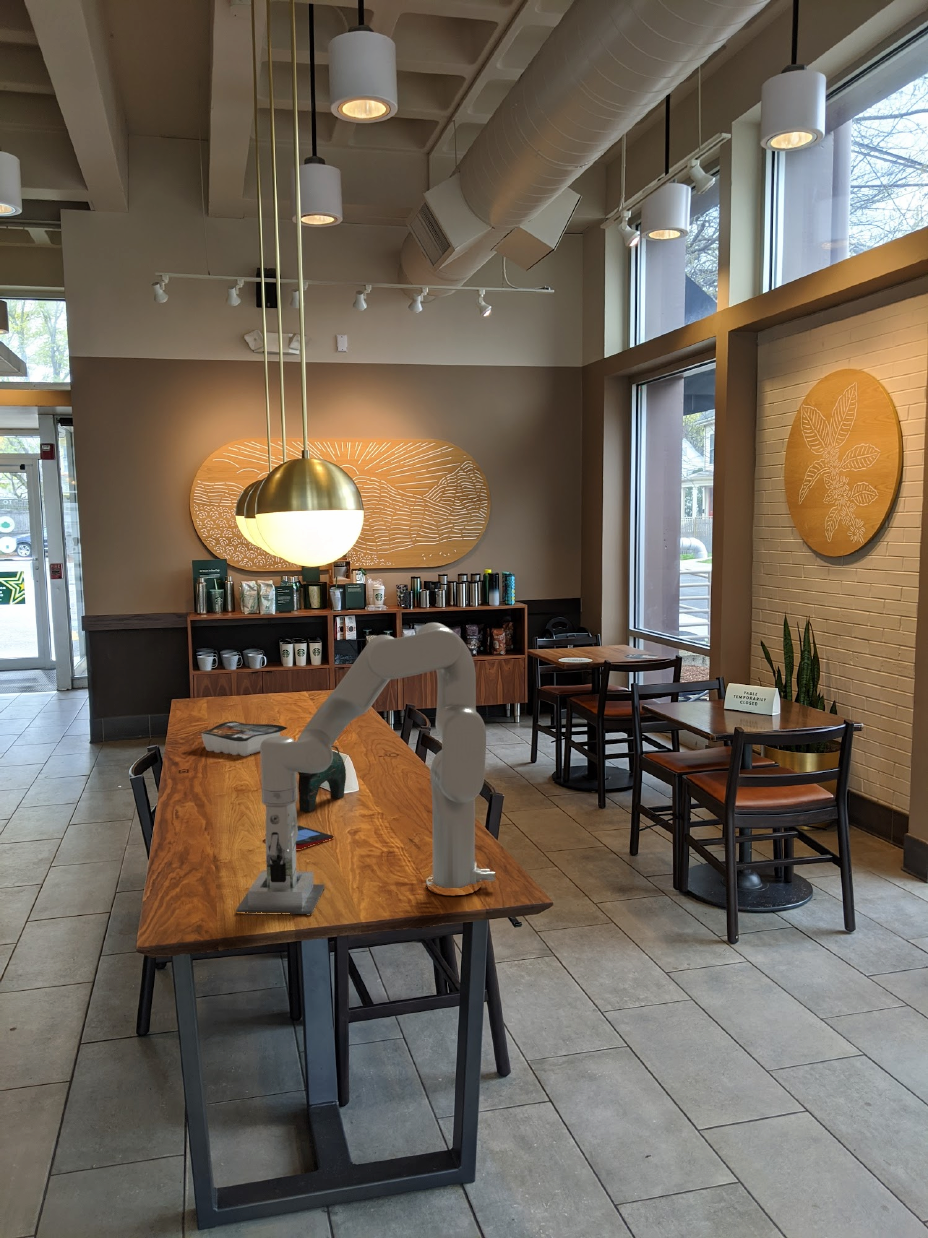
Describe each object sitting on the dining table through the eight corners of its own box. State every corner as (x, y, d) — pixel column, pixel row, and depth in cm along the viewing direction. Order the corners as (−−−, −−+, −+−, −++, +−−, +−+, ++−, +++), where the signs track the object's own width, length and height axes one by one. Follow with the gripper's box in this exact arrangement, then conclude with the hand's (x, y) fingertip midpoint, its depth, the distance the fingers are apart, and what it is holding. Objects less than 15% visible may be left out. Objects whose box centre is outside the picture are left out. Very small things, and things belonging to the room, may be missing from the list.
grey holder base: (324, 889, 208) (324, 869, 208) (311, 915, 194) (311, 894, 194) (253, 888, 209) (253, 868, 208) (236, 914, 195) (235, 893, 194)
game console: (335, 840, 241) (335, 832, 241) (297, 854, 231) (297, 845, 231) (299, 828, 250) (299, 820, 250) (261, 841, 241) (261, 833, 240)
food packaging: (192, 731, 333) (235, 719, 353) (193, 752, 334) (235, 738, 354) (247, 738, 321) (287, 726, 341) (247, 760, 322) (288, 746, 342)
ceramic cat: (308, 815, 260) (306, 745, 258) (290, 811, 264) (288, 743, 261) (350, 797, 278) (349, 731, 276) (332, 794, 281) (331, 729, 279)
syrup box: (297, 888, 204) (295, 824, 203) (293, 899, 198) (291, 833, 197) (271, 889, 204) (269, 825, 203) (266, 900, 198) (264, 834, 197)
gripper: (287, 807, 190) (290, 891, 192) (305, 783, 207) (307, 861, 209) (251, 807, 190) (254, 891, 192) (272, 783, 208) (274, 861, 210)
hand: (282, 875), depth 201 cm, fingers closed on syrup box, 5 cm apart
